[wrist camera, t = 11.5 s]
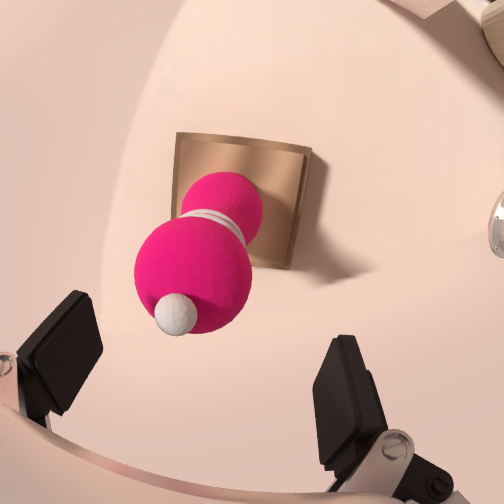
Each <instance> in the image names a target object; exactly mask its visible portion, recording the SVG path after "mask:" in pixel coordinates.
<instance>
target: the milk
mask: <svg viewBox="0 0 504 504" xmlns="http://www.w3.org/2000/svg"><path fill="white" fill-rule="evenodd" d="M390 1H392V2H394V3H396V4H398V5H400V6H401V7H403V8H405V9H407V10H409V11H410V12H412V13H414V14H415V15H417V16H419V17H420V18H422V19H426V18H427V17H429V16H430V15H432V14H433V13H435V12H436V11H438V10H439V9H441V8H443V7H444V6H446V5H447V4H449V3H451V2H452V1H454V0H390Z"/></svg>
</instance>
